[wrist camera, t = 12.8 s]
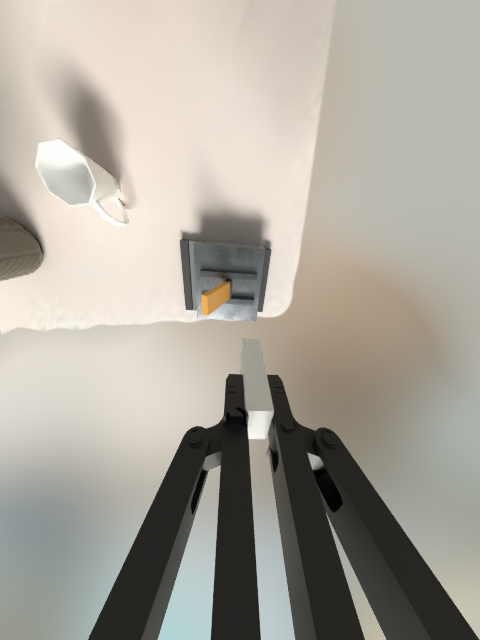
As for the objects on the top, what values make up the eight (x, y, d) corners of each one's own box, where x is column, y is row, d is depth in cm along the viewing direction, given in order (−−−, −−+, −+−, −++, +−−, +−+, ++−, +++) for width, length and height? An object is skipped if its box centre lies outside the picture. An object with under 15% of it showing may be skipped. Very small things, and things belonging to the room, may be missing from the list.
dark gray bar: (262, 248, 34) (263, 249, 33) (269, 248, 34) (271, 249, 33) (255, 308, 41) (256, 311, 39) (261, 309, 41) (262, 311, 39)
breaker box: (198, 240, 33) (190, 244, 28) (261, 245, 34) (266, 249, 29) (200, 307, 40) (195, 321, 35) (253, 310, 41) (256, 324, 35)
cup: (103, 147, 27) (56, 120, 20) (150, 213, 31) (125, 211, 24) (73, 176, 28) (20, 161, 21) (122, 235, 33) (91, 239, 26)
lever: (226, 279, 31) (200, 294, 24) (232, 280, 31) (208, 296, 24) (226, 295, 33) (201, 314, 26) (232, 296, 32) (208, 316, 25)
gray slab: (181, 239, 33) (179, 240, 32) (197, 240, 33) (196, 241, 32) (187, 307, 40) (185, 309, 39) (200, 307, 40) (199, 310, 39)
